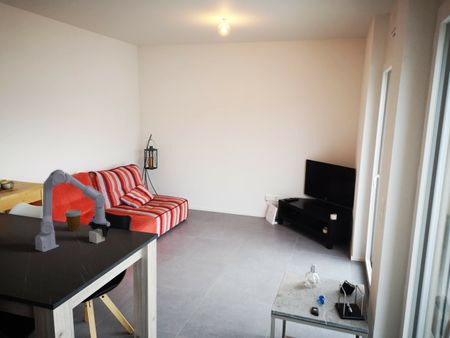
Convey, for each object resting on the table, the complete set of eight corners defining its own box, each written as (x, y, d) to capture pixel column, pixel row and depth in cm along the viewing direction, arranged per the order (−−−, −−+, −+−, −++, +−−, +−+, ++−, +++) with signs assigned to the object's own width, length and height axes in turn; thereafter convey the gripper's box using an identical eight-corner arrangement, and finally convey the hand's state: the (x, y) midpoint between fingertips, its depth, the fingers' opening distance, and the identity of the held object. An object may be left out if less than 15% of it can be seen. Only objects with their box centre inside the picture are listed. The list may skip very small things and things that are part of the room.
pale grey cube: (96, 243, 200) (96, 233, 199) (89, 241, 203) (89, 231, 202) (104, 240, 206) (104, 230, 204) (97, 238, 208) (97, 228, 207)
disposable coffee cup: (78, 232, 217) (77, 214, 215) (63, 232, 217) (62, 213, 215) (84, 227, 226) (83, 209, 224) (70, 226, 226) (69, 209, 224)
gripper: (113, 213, 204) (114, 235, 206) (96, 209, 211) (97, 231, 213) (104, 217, 198) (105, 239, 200) (86, 212, 205) (87, 234, 207)
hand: (100, 235), depth 206 cm, fingers open, 7 cm apart
